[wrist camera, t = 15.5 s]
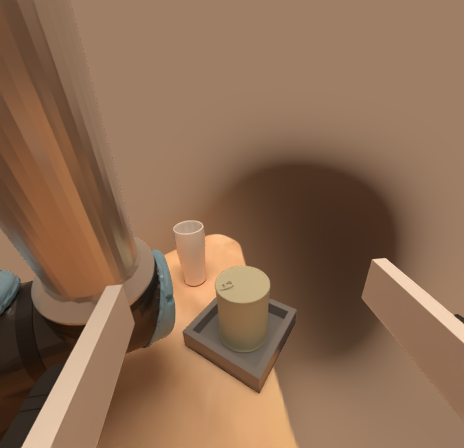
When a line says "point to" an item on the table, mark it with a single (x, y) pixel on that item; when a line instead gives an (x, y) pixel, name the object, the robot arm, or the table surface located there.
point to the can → (243, 308)
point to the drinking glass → (191, 251)
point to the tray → (235, 363)
